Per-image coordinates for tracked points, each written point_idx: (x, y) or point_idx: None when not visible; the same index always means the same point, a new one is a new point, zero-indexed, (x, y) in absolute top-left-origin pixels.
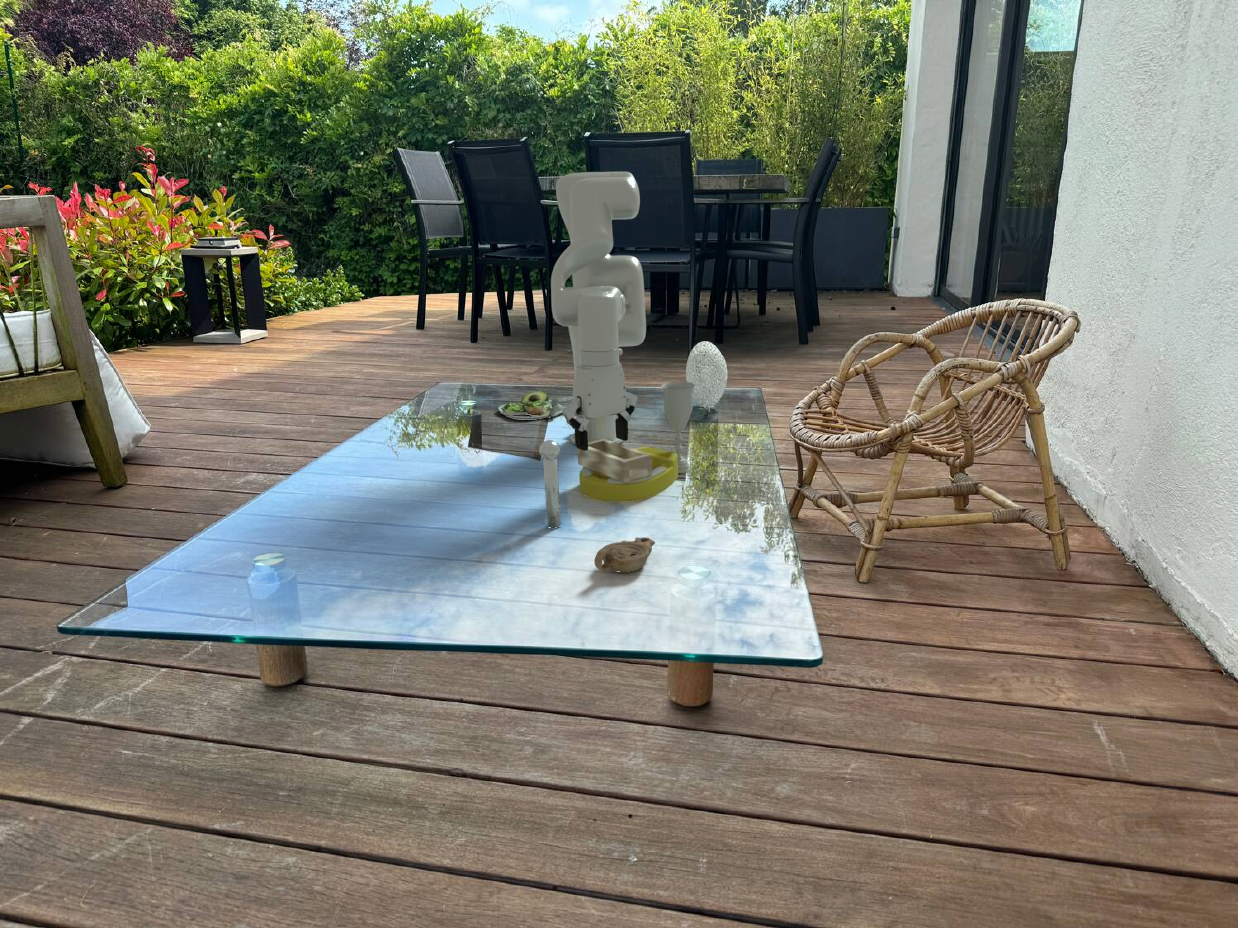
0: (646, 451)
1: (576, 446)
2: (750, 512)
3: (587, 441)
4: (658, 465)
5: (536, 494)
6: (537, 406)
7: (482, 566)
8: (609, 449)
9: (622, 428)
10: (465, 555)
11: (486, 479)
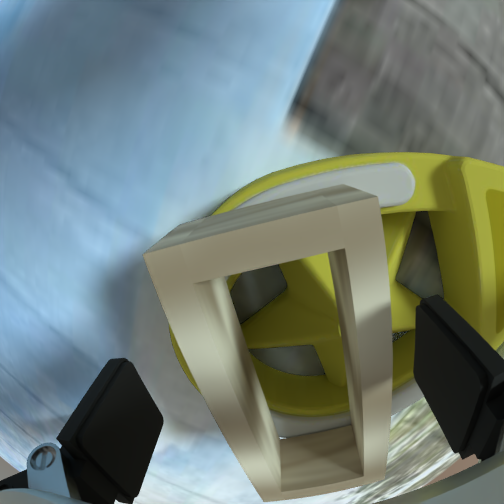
0: (497, 236)
1: (111, 362)
2: (419, 472)
3: (151, 452)
4: (466, 311)
5: (65, 238)
6: None
7: (30, 440)
8: (344, 290)
9: (442, 411)
10: (6, 410)
11: (5, 69)
